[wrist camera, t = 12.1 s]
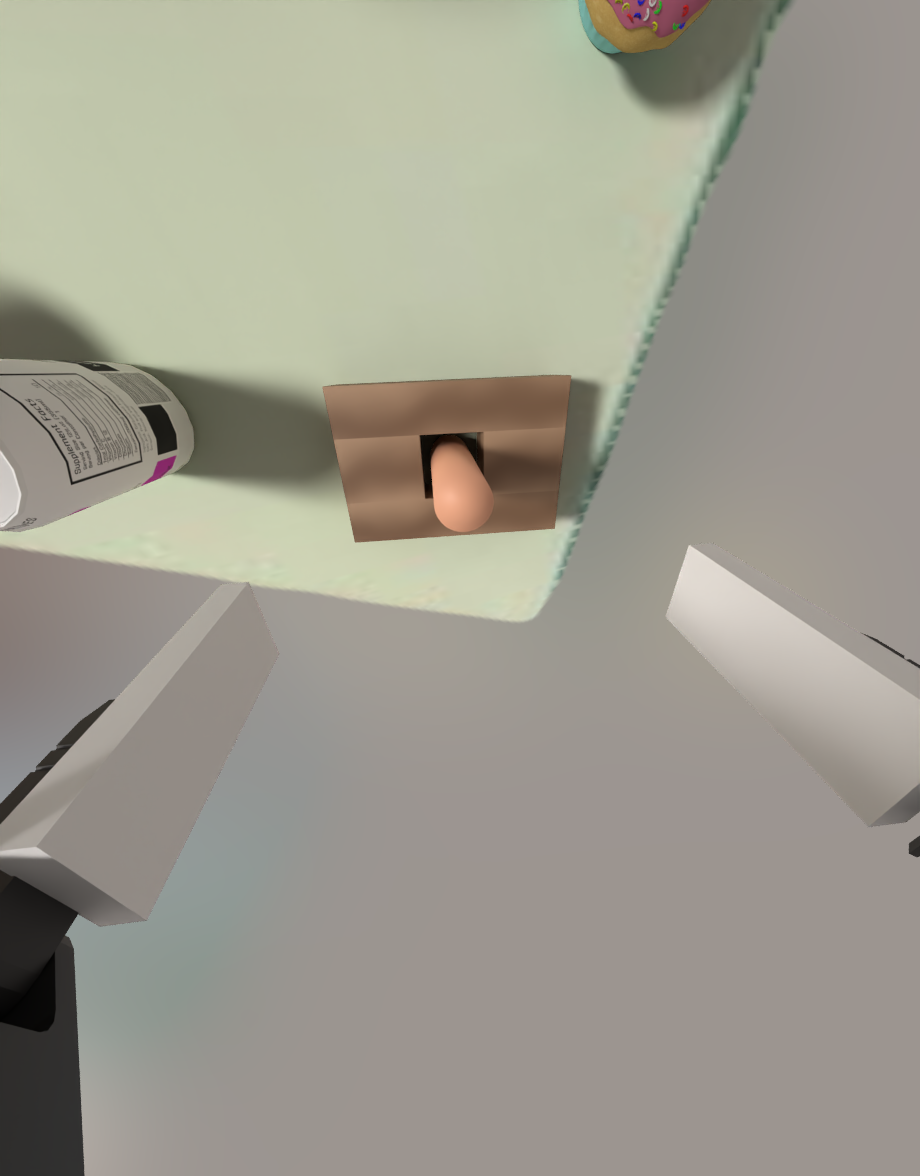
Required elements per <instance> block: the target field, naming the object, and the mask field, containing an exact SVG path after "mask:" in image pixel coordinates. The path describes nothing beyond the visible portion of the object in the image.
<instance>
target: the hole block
mask: <svg viewBox="0 0 920 1176" xmlns="http://www.w3.org/2000/svg"><path fill="white" fill-rule="evenodd" d="M570 384H571V375H539V376H516V377H494V378H472V379H450V380H428V381H406V382H384V383H362V384H339V385H331V386H324V387H323V392H324V397H325V401H326V406H327V411H328V416H329V420H330V425H331V430H332V435H333V440H334V444H335V449H336V454H337V459H338V463H339V468H340V473H341V478H342V483H343V487H344V492H345V497H346V502H347V506H348V511H349V516H350V521H351V526H352V530H353V535H354V540H355V542H369V541H384V540H398V539H413V538H427V537H441V536H456V535H470V534H485V533H499V532H513V531H528V530H542V529H555V521H556V511H557V502H558V493H559V484H560V475H561V466H562V457H563V447H564V438H565V429H566V420H567V411H568V402H569V393H570ZM468 432H477V465H478V467H479V469H480V471H481V472H482V474H483V476H484V478H485V480H486V481H487V483H488V485H489V487H490V488H491V490H492V493H493V498H494V506H493V510H492V513H491V515H490V517H489V519H488V520H487V521H486V522H485V523H484V524H483V525H482V526H481V527H479V528H477V529H475V530H473V531H469V532H457V531H453V530H451V529H449V528H447V527H446V526H444V525H443V524H442V523H441V522H440V520H439V519H438V517H437V515H436V513H435V509H434V498H433V485H432V484H425V480H424V469H423V457H422V446H421V435H431V434H450V433H468Z"/></svg>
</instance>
